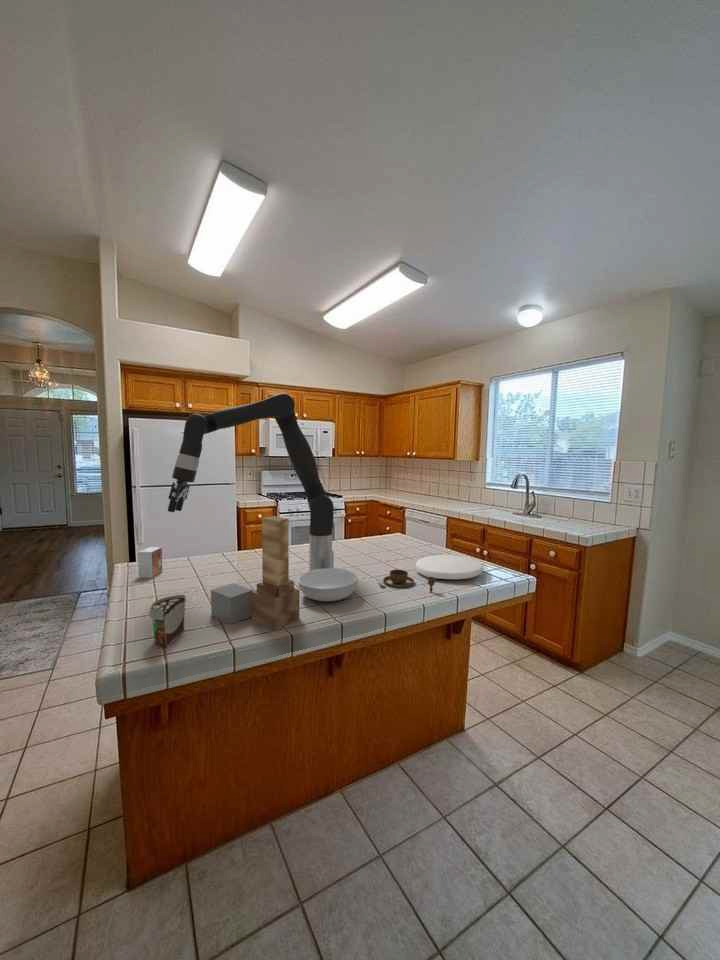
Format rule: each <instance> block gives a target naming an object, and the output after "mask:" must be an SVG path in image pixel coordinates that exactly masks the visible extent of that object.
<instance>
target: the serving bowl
mask: <svg viewBox="0 0 720 960" xmlns="http://www.w3.org/2000/svg"><path fill="white" fill-rule="evenodd" d="M358 579H359V577H358V575H357V574H356V573H355V572H353V571H350V570H347V569H343V568H324V569H316V570H311V571H309V570H308V571H306V572H303V573H302V574H300V575H299V576H298V578H297V583H298V587H299V591H301V592H302V594H304V595H305V597H308V599H312V600H315V601H319V602H334V601H335V602H336V601H340V600H343V599H345V598H348V597H349V596H350V595H351V594H353V593H354V591H355V590H356V588H357V585H358V581H359V580H358Z"/></svg>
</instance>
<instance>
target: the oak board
mask: <svg viewBox="0 0 720 960" xmlns="http://www.w3.org/2000/svg"><path fill="white" fill-rule="evenodd" d="M261 518H262V519H261V532H262V535H261V537H262V538H261V540H262V541H261V542H262V543H261V545H262V551H261V553H262V554H261V555H262V556H261V558H262V561H261V562H262V564H261V566H262V583H265V584H268V585H271V586H274V587H277V595H279V588H280V587H283V586H285V585H288V584H289V580H290V579H289V574H290V573H289V572H290V571H289V570H290V568H289V562H290V561H289V559H290V557H289V555H290V552H289V549H290V548H289V546H290V544H289V543H290V542H289V539H290V538H289V533H290V532H289V529H290V527H289V518H287V517H286V518H285V517H281V516H274V515H271V516H264V517H261Z"/></svg>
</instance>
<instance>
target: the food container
mask: <svg viewBox="0 0 720 960" xmlns="http://www.w3.org/2000/svg"><path fill="white" fill-rule="evenodd" d="M186 599H187V598H186V594H177V595H169V596H167V597H166V596H165V597H163V598H162V597H161V598H159V599H158V600H156V601H154V602H153V603H152V604H151V606H150V608H149V611H148V612H149V613H148V616H149V617H150V618H151V619H152V628H153V634H154V635H153V636H154V642H155V645H156V646H157V647H160V648H168V647H169V646H170V645H171V644H172V643H173V642H174V641H175V640H176V639H177V638H178V637H179V636H180V635H182V633H183V632H184V631H185V611H186V608H185V606H186V605H185V604H186V601H187V600H186Z"/></svg>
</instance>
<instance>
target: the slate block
mask: <svg viewBox="0 0 720 960" xmlns="http://www.w3.org/2000/svg"><path fill="white" fill-rule="evenodd" d="M252 591H254V590H253V589H252V588H249V587H247V586H243V585H239V584H237V583H236V582H235V583H234V582H231V583H228V584H225V585H222V586H219V587H216V588H214V589H210V613H211V616H212V617H215V618H217V619H219V620H221V621H223V622H224V623H227V624H230V625H233V624H235V623H238V622H241V621H242V620H245V619H248V618H249V617H252V612H251V592H252Z"/></svg>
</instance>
